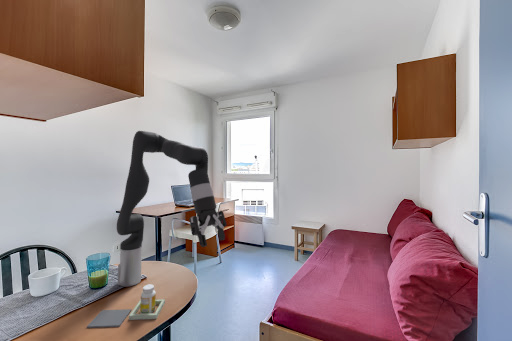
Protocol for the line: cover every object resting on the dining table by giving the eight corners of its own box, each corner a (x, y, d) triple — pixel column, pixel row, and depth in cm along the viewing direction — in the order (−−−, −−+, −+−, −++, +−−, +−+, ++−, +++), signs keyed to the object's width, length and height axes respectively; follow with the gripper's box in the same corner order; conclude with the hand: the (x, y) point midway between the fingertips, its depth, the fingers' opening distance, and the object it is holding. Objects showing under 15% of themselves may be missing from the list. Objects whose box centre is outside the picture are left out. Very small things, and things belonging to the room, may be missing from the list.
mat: (86, 327, 78) (86, 326, 78) (102, 311, 87) (102, 310, 87) (119, 326, 79) (119, 325, 79) (131, 310, 88) (131, 309, 88)
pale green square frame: (128, 319, 83) (128, 315, 83) (140, 303, 93) (140, 299, 93) (156, 318, 84) (156, 314, 84) (164, 302, 94) (164, 299, 94)
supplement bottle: (142, 317, 85) (143, 292, 84) (138, 310, 88) (139, 286, 88) (157, 311, 88) (157, 287, 88) (152, 304, 92) (153, 281, 92)
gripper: (211, 198, 88) (220, 239, 85) (180, 202, 76) (190, 250, 73) (224, 193, 84) (234, 236, 81) (193, 197, 72) (205, 247, 69)
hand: (213, 243), depth 77 cm, fingers open, 8 cm apart
